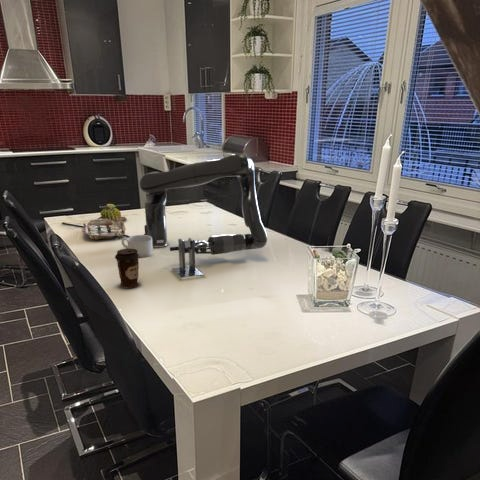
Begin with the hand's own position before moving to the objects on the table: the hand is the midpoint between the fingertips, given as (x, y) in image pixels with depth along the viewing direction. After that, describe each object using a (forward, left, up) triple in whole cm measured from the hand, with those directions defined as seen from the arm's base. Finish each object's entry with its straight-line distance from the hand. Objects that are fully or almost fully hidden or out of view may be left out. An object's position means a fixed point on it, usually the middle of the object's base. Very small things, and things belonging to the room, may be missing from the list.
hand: (181, 249), depth 186 cm
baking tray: (-62, +32, -8) cm, 70 cm away
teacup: (-26, +8, -8) cm, 29 cm away
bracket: (+6, -6, -8) cm, 11 cm away
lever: (+3, -4, +1) cm, 5 cm away
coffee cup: (-7, -26, -8) cm, 28 cm away
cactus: (-78, +61, -8) cm, 100 cm away
